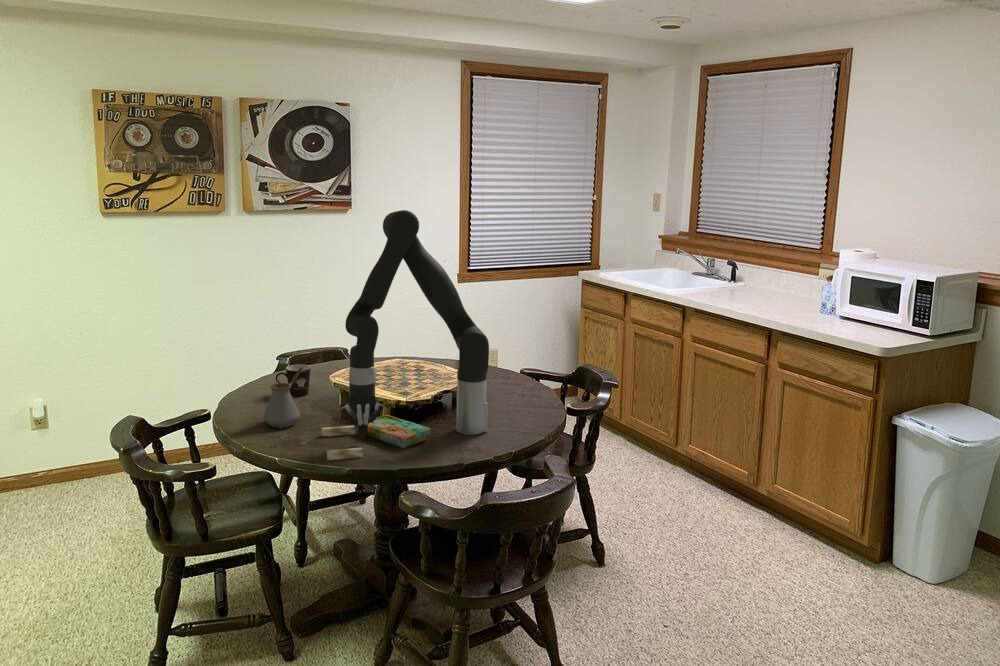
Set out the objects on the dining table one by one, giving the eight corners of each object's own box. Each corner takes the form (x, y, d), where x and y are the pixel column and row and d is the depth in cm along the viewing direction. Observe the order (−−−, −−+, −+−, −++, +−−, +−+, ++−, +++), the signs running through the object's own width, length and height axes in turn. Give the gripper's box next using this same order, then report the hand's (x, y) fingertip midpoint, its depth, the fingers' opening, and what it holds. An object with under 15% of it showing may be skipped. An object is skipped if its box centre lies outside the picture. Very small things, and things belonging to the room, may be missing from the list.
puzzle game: (402, 436, 227) (358, 420, 239) (402, 451, 228) (358, 434, 240) (430, 426, 236) (386, 411, 248) (430, 440, 237) (386, 425, 249)
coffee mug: (313, 391, 282) (312, 364, 280) (308, 398, 274) (307, 371, 272) (281, 390, 282) (280, 364, 279) (275, 397, 273) (274, 370, 271)
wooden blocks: (354, 433, 241) (354, 425, 240) (362, 457, 222) (362, 448, 221) (321, 435, 238) (321, 427, 237) (327, 460, 219) (327, 452, 218)
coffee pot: (290, 431, 240) (288, 385, 237) (256, 428, 243) (254, 382, 239) (319, 410, 261) (318, 368, 257) (288, 407, 263) (286, 365, 260)
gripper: (382, 375, 233) (382, 430, 236) (338, 378, 229) (338, 433, 232) (386, 382, 226) (386, 438, 229) (340, 385, 222) (341, 442, 226)
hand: (362, 435), depth 231 cm, fingers closed
